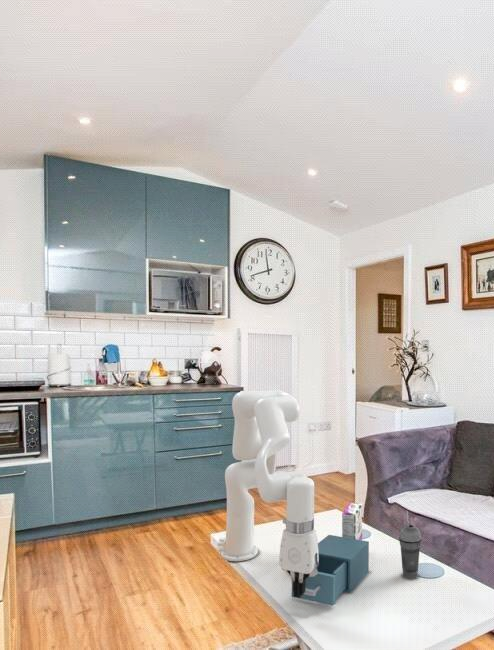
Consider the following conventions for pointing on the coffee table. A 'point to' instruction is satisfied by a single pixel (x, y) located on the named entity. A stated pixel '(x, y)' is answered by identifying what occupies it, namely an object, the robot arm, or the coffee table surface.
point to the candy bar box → (352, 521)
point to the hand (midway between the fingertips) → (299, 595)
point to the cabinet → (347, 556)
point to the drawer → (326, 581)
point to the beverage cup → (410, 550)
